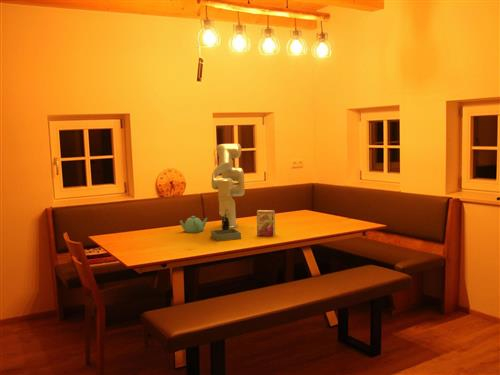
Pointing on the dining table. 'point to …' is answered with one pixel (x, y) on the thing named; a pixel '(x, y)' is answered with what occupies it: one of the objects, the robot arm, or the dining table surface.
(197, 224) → the teapot
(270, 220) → the candy bar box
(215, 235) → the trough
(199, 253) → the dining table surface
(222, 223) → the battery cell
